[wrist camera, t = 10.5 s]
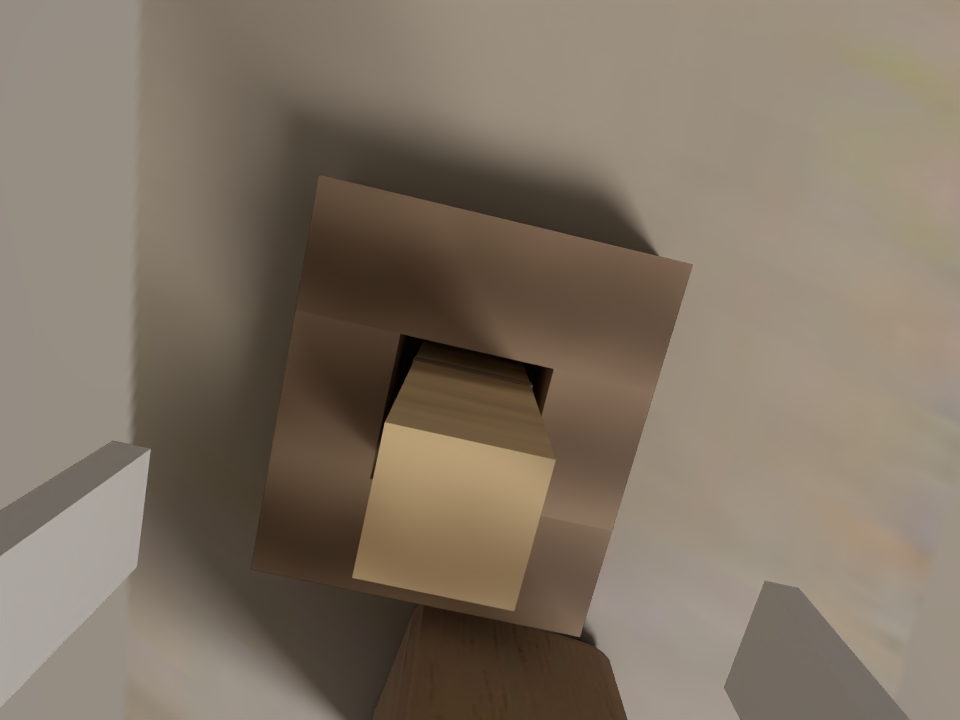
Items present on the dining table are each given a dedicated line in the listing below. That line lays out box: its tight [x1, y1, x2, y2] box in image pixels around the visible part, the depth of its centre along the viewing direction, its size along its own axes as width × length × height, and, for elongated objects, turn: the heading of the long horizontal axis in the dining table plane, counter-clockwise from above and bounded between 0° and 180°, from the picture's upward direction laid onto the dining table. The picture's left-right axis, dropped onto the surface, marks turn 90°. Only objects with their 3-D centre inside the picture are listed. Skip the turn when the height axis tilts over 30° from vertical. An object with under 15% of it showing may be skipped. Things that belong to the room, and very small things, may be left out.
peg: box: [352, 339, 556, 611], centre depth 22 cm, size 5×5×12 cm
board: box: [251, 175, 693, 637], centre depth 26 cm, size 16×14×4 cm
